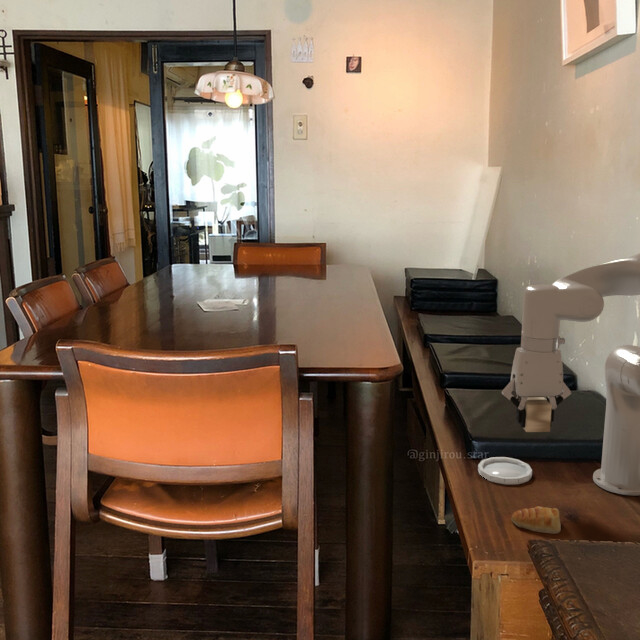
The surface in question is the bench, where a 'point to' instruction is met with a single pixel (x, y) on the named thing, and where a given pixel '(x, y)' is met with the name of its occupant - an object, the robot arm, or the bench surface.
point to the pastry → (538, 519)
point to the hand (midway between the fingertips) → (534, 424)
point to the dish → (505, 470)
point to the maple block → (537, 415)
